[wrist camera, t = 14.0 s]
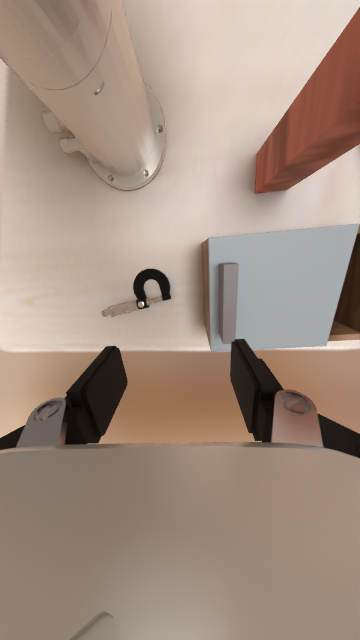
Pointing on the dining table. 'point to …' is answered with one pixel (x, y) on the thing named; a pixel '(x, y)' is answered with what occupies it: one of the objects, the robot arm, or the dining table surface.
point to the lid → (277, 286)
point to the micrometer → (142, 293)
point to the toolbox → (353, 306)
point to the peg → (316, 119)
